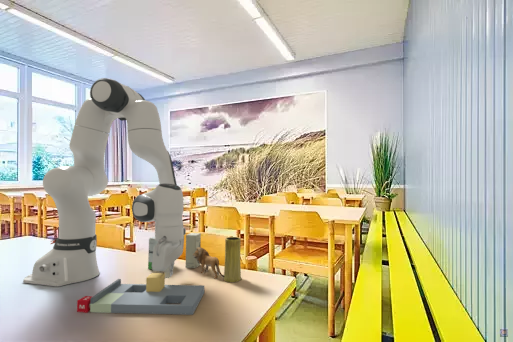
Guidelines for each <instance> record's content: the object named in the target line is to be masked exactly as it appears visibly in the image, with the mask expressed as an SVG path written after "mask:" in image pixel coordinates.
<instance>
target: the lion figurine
mask: <svg viewBox="0 0 513 342" xmlns="http://www.w3.org/2000/svg"><path fill="white" fill-rule="evenodd" d="M193 256H194V259H197V260H198V261H199V263H200V266H201V271H200V274H204V273H205V272H209V267H210V268H211V271H212V272H213V274H214V277H213V279H218V275H220V277H222V278H224V274H222V273H221V270H220V260H219V258H218V257H217V256H211V255H210V253H209V251H207V249H205V248H203V247H198V248H197V249H196V251H195V253H194V254H193Z"/></svg>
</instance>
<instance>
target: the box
mask: <svg viewBox="0 0 513 342" xmlns="http://www.w3.org/2000/svg"><path fill="white" fill-rule="evenodd" d="M201 236H202V235H201V233H200V232H197V233H196V232H191V233H187V234H185V268H187V269H197V268H198V267H199V266H201V264H200V263H199V261H198V260H197V259H194V256H193V254H194V253H195V251H196V249H197V248H198V247H201V240H202V239H201V238H202V237H201ZM201 248H202V247H201Z"/></svg>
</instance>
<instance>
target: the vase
mask: <svg viewBox="0 0 513 342" xmlns="http://www.w3.org/2000/svg"><path fill="white" fill-rule="evenodd" d="M224 242H225V245H224V246H225V247H224V253H225V254H224V269H223V270H224V272H223V275H224V277H223V281H225V282H226V283H237V282H240V281H242V272H241V271H242V269H241V268H242V267H241V237H237V236H228V237H226V238H225V241H224Z"/></svg>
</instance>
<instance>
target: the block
mask: <svg viewBox="0 0 513 342" xmlns="http://www.w3.org/2000/svg"><path fill="white" fill-rule="evenodd" d="M145 279H146V280H145V284H146V292H160V291H161V290H162V289H163V288H164V287H165V285H166V283H165V281H166V280H165V279H166V278H165V273H164V272H152V273H150V274H149V275H148V276H146V278H145Z"/></svg>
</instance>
